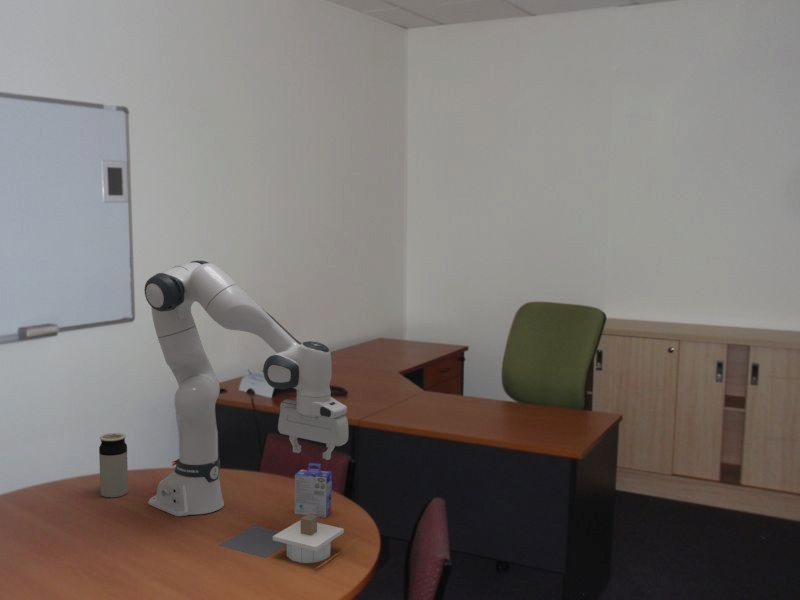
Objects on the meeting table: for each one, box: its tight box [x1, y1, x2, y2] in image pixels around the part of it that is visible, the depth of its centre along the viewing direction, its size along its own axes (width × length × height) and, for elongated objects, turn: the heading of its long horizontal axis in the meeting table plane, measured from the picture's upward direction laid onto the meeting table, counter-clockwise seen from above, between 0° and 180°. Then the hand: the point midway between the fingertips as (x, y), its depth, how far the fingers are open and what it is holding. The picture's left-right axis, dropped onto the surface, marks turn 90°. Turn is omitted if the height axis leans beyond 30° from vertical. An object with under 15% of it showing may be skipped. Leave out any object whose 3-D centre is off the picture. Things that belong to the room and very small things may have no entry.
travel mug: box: [98, 432, 129, 499], centre depth 251 cm, size 8×8×18 cm
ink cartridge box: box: [293, 462, 333, 519], centre depth 239 cm, size 10×6×14 cm, turn 78°
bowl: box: [286, 541, 332, 564], centre depth 211 cm, size 11×11×5 cm
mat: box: [218, 525, 287, 558], centre depth 219 cm, size 15×15×1 cm
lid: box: [273, 514, 345, 551], centre depth 211 cm, size 13×13×5 cm
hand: (311, 455), depth 218 cm, fingers open, 8 cm apart
